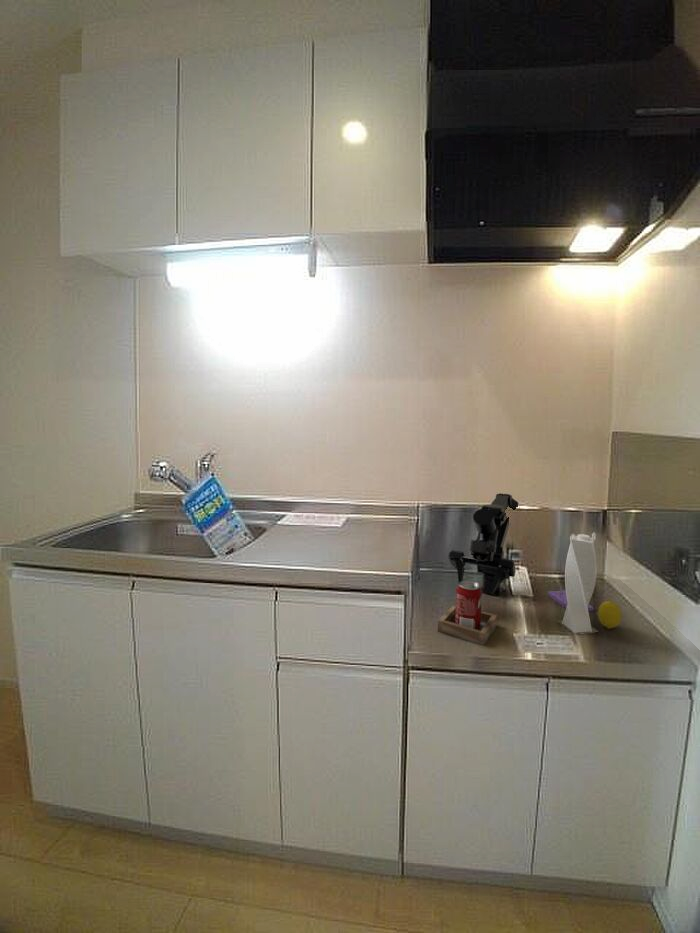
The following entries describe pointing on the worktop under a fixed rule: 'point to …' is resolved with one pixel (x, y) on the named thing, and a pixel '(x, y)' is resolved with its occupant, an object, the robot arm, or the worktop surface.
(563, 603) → the sponges
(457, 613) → the soda can
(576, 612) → the skyscraper
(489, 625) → the wooden square tray
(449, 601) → the worktop surface
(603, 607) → the lemon
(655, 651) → the worktop surface
